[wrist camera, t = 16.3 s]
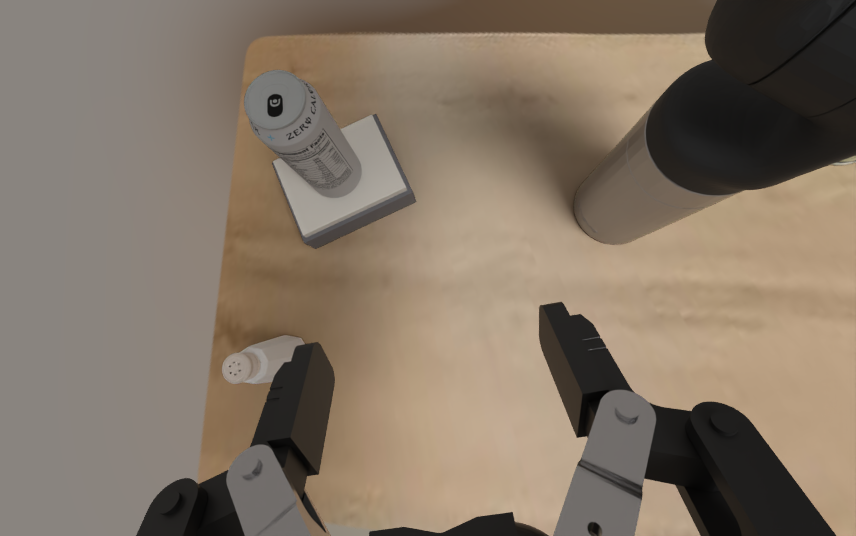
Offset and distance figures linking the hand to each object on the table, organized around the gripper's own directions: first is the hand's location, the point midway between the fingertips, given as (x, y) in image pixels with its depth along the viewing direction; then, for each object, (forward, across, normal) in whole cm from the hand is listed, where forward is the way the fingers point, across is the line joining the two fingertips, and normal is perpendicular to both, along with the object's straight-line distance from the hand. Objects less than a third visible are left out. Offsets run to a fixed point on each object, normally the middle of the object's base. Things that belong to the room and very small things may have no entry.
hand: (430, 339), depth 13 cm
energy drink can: (+32, +10, +5) cm, 34 cm away
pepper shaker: (+22, +20, +22) cm, 37 cm away
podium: (+35, +10, +8) cm, 38 cm away
